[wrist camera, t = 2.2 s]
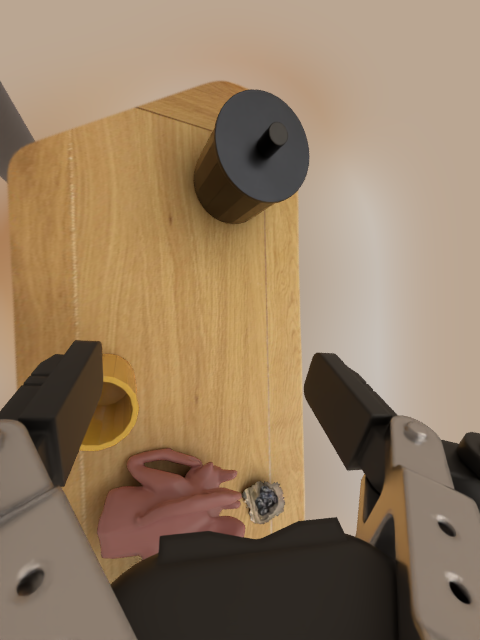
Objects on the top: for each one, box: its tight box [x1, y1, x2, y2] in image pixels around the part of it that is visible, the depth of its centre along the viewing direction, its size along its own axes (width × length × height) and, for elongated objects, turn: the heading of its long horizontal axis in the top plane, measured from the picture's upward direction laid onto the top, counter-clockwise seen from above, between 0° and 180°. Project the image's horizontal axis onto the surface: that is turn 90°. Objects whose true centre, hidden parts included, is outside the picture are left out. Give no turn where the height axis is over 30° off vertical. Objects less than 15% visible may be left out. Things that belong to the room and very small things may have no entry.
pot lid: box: [214, 90, 309, 204], centre depth 26 cm, size 10×10×4 cm
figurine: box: [97, 448, 245, 560], centre depth 33 cm, size 12×10×15 cm
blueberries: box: [242, 481, 285, 524], centre depth 41 cm, size 7×8×2 cm
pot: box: [194, 128, 275, 224], centre depth 32 cm, size 10×10×10 cm
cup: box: [79, 354, 139, 451], centre depth 28 cm, size 6×6×10 cm
